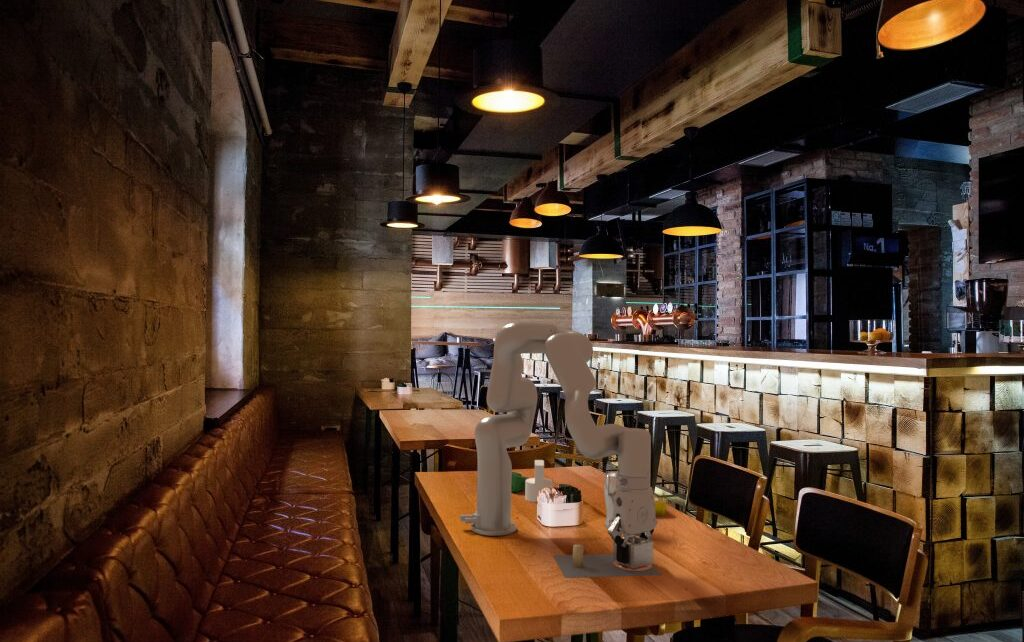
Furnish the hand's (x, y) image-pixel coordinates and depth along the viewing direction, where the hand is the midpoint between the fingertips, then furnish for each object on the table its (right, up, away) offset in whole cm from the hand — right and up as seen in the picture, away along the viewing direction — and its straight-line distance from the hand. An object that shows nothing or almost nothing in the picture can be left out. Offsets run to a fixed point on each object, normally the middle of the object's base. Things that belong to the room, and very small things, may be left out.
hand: (632, 558), depth 150 cm
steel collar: (0, -1, 0) cm, 1 cm away
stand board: (-7, -3, -1) cm, 7 cm away
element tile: (+11, -5, +52) cm, 53 cm away
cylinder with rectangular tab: (-19, -4, +63) cm, 66 cm away
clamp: (-27, -4, +76) cm, 81 cm away
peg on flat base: (0, -1, 0) cm, 1 cm away
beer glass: (+1, -4, +33) cm, 34 cm away
